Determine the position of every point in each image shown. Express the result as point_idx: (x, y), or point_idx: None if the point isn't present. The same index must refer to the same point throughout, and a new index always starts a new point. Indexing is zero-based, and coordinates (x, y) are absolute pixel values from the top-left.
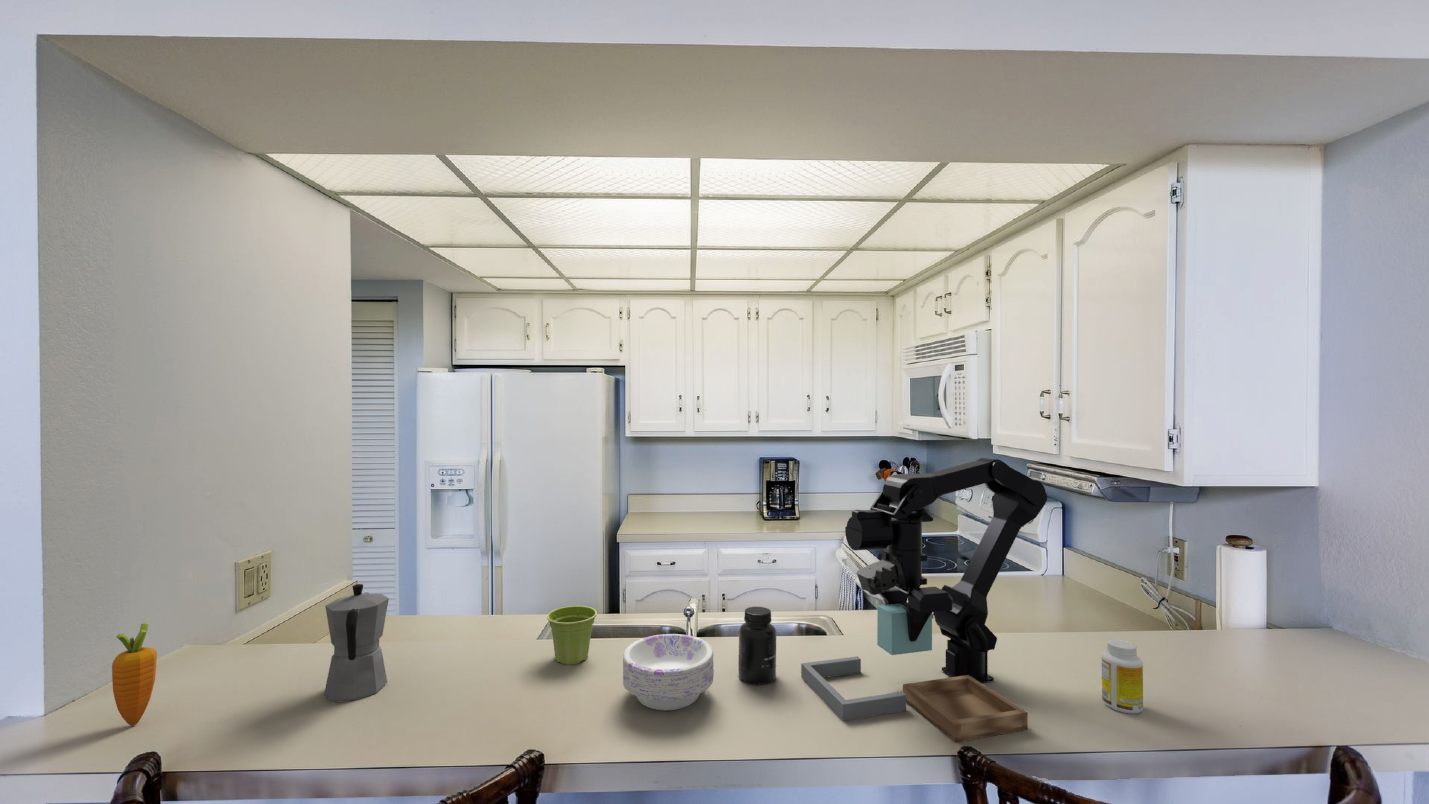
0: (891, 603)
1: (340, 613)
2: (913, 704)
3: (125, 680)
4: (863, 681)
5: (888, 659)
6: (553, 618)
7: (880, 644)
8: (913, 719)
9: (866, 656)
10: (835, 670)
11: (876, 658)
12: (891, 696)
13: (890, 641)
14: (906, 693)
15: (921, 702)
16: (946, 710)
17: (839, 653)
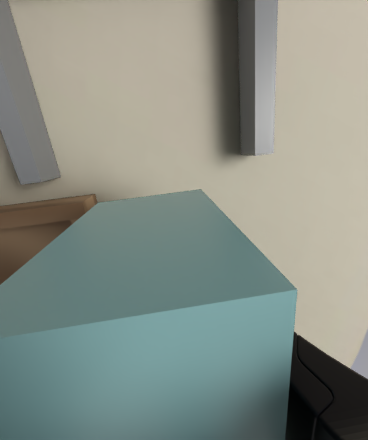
0: (307, 428)
1: None
2: (49, 201)
3: None
4: (196, 140)
5: (284, 246)
6: None
7: (180, 194)
8: (3, 177)
9: (313, 206)
10: (245, 67)
11: (297, 223)
12: (8, 137)
13: (90, 217)
14: (71, 200)
15: (4, 210)
16: (27, 258)
17: (352, 145)
